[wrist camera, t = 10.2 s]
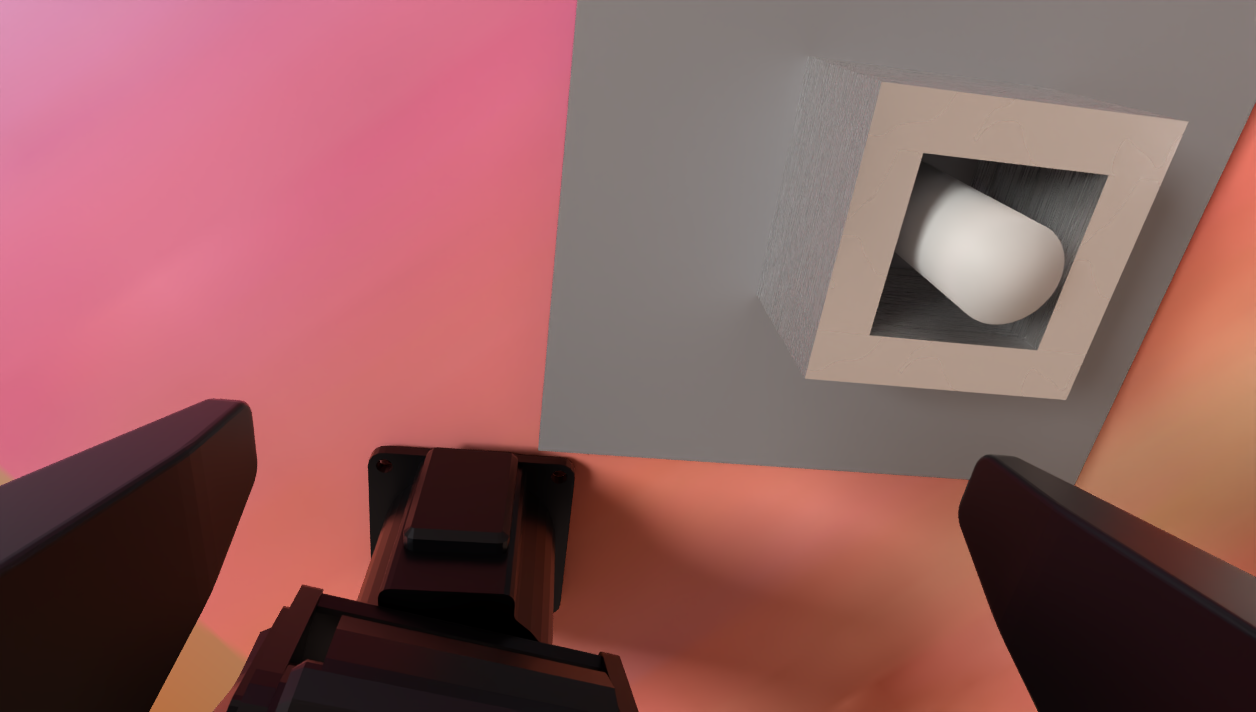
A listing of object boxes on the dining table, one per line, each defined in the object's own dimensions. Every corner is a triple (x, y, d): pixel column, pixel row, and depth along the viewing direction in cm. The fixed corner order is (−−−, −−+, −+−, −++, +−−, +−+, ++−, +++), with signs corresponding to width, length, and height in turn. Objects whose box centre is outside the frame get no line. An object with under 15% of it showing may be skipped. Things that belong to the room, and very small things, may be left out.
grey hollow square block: (967, 314, 22) (1065, 400, 18) (756, 294, 22) (804, 378, 17) (1047, 88, 19) (1189, 121, 15) (807, 56, 19) (882, 81, 14)
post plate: (1056, 469, 26) (1206, 622, 20) (539, 433, 24) (528, 591, 18) (1332, -137, 18) (1721, -194, 12) (600, -268, 16) (618, -417, 10)
